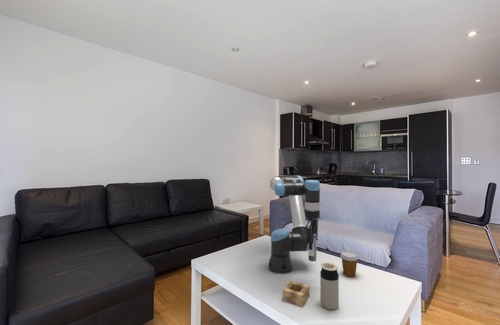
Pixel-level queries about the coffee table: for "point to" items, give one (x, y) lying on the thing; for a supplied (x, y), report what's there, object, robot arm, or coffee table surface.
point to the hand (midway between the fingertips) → (312, 253)
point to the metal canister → (313, 258)
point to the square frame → (296, 293)
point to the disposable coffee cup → (349, 263)
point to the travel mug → (329, 286)
